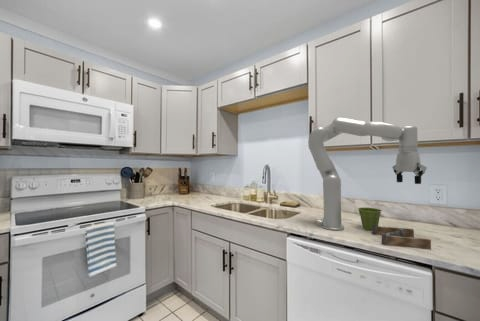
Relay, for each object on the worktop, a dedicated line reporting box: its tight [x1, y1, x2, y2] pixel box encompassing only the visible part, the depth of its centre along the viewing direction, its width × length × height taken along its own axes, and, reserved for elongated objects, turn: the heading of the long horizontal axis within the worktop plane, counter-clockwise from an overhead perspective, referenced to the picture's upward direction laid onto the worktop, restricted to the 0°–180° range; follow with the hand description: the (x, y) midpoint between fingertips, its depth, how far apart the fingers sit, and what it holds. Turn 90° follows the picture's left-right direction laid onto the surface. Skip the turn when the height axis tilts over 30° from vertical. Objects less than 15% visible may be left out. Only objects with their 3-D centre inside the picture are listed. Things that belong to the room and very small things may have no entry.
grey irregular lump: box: [386, 227, 405, 237], centre depth 103 cm, size 10×7×12 cm
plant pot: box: [357, 206, 383, 232], centre depth 122 cm, size 12×12×11 cm
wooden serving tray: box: [371, 224, 432, 250], centre depth 103 cm, size 18×17×5 cm
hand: (408, 182), depth 110 cm, fingers open, 9 cm apart
